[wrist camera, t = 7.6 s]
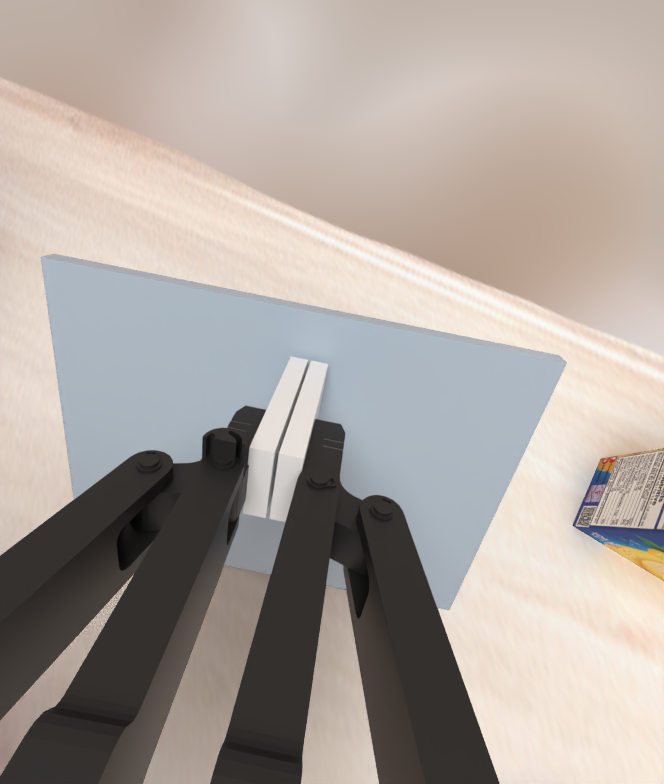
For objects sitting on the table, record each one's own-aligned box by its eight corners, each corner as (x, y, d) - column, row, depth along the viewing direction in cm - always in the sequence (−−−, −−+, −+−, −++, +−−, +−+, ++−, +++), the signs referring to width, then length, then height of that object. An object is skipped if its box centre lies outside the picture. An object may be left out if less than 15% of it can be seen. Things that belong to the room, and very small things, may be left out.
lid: (87, 526, 25) (78, 536, 25) (53, 253, 18) (40, 256, 17) (447, 598, 26) (449, 610, 25) (559, 355, 18) (566, 362, 17)
